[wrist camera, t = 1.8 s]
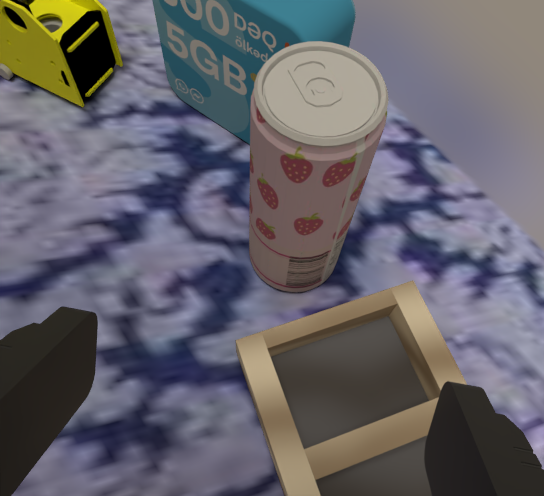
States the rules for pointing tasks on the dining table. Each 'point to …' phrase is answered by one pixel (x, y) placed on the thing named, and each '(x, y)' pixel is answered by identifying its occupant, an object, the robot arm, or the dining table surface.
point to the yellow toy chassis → (58, 45)
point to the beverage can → (309, 158)
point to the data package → (238, 47)
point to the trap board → (350, 395)
